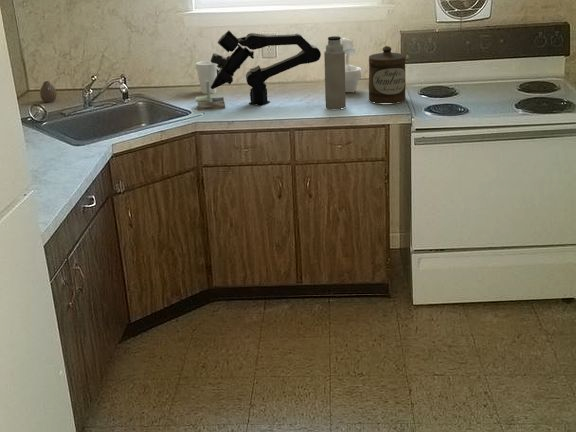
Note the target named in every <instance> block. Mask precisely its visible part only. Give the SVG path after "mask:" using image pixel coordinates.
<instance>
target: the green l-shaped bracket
mask: <svg viewBox="0 0 576 432" xmlns="http://www.w3.org/2000/svg"><path fill="white" fill-rule="evenodd" d="M206 88H207V94H206V95H205V96H201V95H200V96H195V102H196V103H198V101H211V100H210V98H211V96H210V95H211V93H210V94H209V82H208V80H206Z"/></svg>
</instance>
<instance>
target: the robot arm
mask: <svg viewBox="0 0 576 432" xmlns="http://www.w3.org/2000/svg"><path fill="white" fill-rule="evenodd" d="M217 44H218V45H219V46H221V47H222V49H224V50H225V51H226V52H227V53H229V52H231V55H228V56H226V57H224V56H223V55H220V54H217V53H214V52H213V54H212V56H211V58H210V61H211V62H212V63H215V64H218V65H217V67H218V68H219V69H217V76H216V78H215V80H214V82H213V84H212V85H211V89H214V88H216V89H217V88H218V87H221V86H223V85H225V84H229V85H231V84H232V83H233V82H234V79H233V76H234V75H235V73H236V71H238V70H240V69H241V66H242V65H244V63H245V61H247V59H248V58H251V59H253V60H254V58H255V57H254V55H255V52H254V50H259V49H264V48H266V47H270V46H271V47H272V46H273V47H274V46H291V45H292V46H295V45H296V46H298V47H299V48H300V49H301V51H299V52H298V53H296V54H295V55H292V56H290V57H288V58H285V59H283V60H280V61H279V62H276V63H274V64H271V65H269V66H267V67H262V68H261V67H260V65H256V66H255V67H253V68H249V70H248V71H247V72H246V74H245V80H246V83H247V84H248V85H249V87H251V88H250V92H249V97H250V98H249V99H250V102H248V104H249V105H253V106H260V107H261V106H264V105H266V104H269V103H271V100H268V88H267V84H266V81H267V80H269V78H272V77H273V76H277V75H278V74H281V73H283V72H286V71H288V70H291V69H293V68H295V67H298V66H300V65H306V64H313V63H315V62H318V61H319V60H320V59H321V56H322V53H321V50H320V49H319V48H318V47H317V46H316V45H313V44H310V43H309V41H307V40H306V39H305V38H304V37H303V36H302V34H300V33H295V34H275V35H274V34H273V35H268V34H262V33H261V34H260V33H255V32H250V33H247V35H246V36H242V37H236V36H235V34H233V33H232V31H231V30H227V31H226V32H225V33H224V34H222V36H221V37H220V38H219V39H218V41H217Z"/></svg>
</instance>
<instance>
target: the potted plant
mask: <svg viewBox="0 0 576 432" xmlns="http://www.w3.org/2000/svg"><path fill="white" fill-rule="evenodd" d="M337 36H338V37H340V36H339V35H337ZM341 45H343V50H344V51H345V92H352V93H354V92H353V91H355V90H357V87H358V85H359V81H360V79H362V68H361V67H359V66H355V65H353V64H350V56H352V55H354V54H355V52H356V48H354V42H353V41H352V40H351V39H349V38H347V37H342V42H341ZM355 92H356V91H355Z"/></svg>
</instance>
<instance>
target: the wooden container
mask: <svg viewBox="0 0 576 432" xmlns="http://www.w3.org/2000/svg"><path fill="white" fill-rule="evenodd" d="M382 51H383V52H380V53H379V52H378V53H374V54H371V55H369V56H368V101H369V100H370V101H371V102H375V103H397V102H401V103H403V102H402V101H404V100H405V101H406V86H407V85H406V83H407V82H406V79H407V78H406V54H404V53H399V52H391V51H392V47H391V46H388V45H386V46H384V47H383V48H382ZM370 101H369V102H370ZM405 101H404V102H405ZM371 102H370V103H371ZM375 103H374V104H375Z"/></svg>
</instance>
